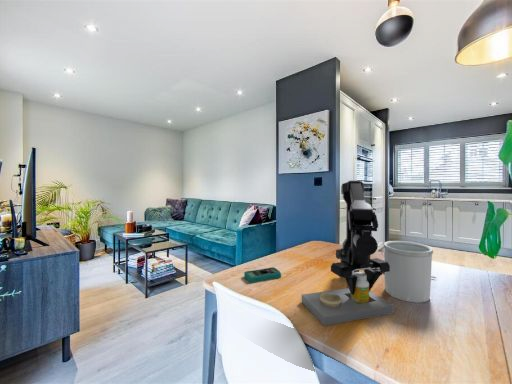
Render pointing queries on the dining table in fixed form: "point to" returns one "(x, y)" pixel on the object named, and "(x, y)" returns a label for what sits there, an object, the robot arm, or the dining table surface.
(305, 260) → the dining table surface
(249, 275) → the digital multimeter
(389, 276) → the utensil holder
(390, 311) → the plate
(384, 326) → the dining table surface
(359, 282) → the supplement bottle
